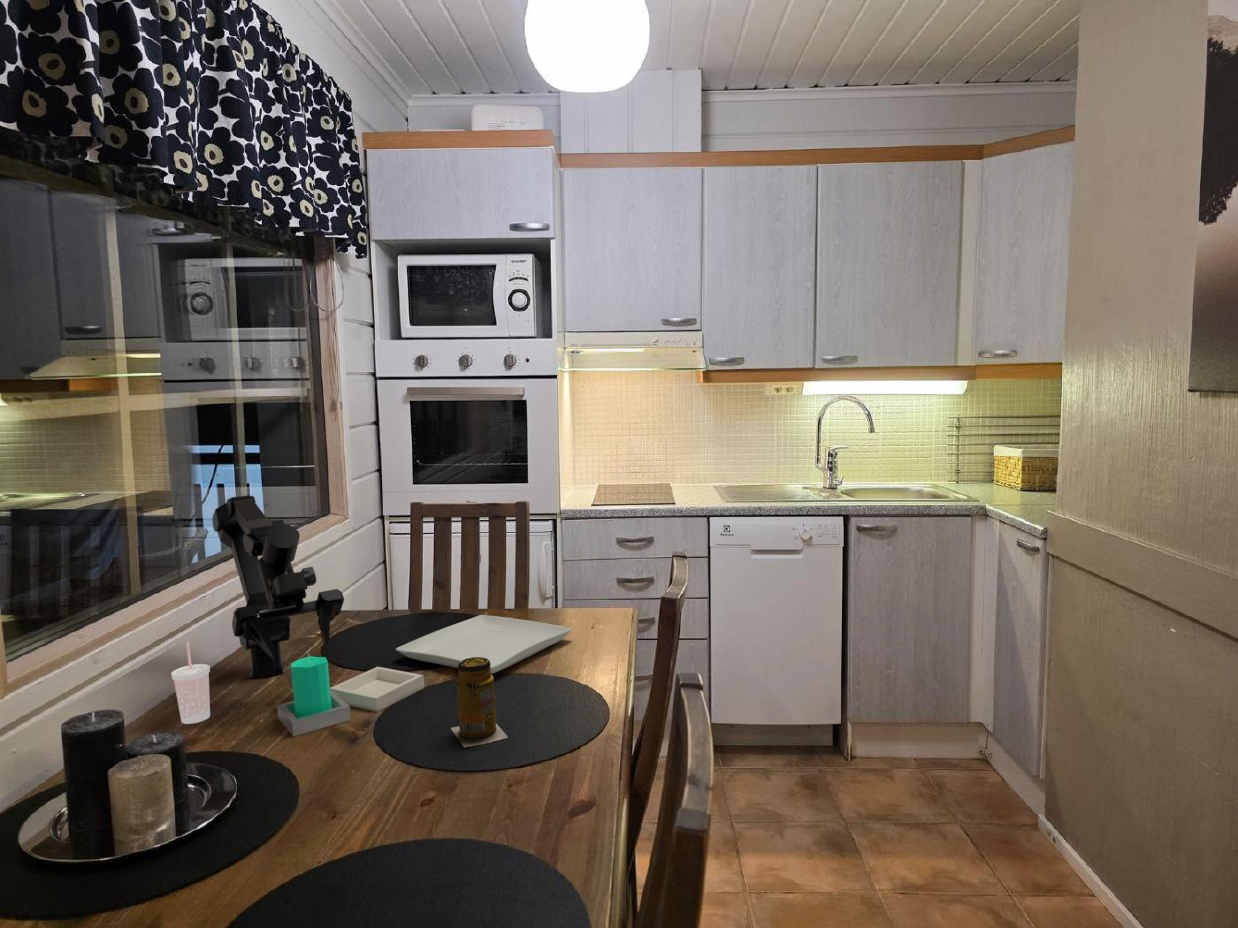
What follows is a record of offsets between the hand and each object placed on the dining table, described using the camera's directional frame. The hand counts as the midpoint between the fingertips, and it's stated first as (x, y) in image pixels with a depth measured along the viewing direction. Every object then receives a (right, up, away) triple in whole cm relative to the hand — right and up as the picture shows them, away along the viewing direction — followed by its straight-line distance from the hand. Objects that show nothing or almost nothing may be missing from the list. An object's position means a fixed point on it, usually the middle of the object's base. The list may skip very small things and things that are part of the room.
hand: (301, 651), depth 144 cm
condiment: (+34, -11, -11) cm, 37 cm away
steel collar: (+3, -11, -2) cm, 12 cm away
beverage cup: (-19, -12, 0) cm, 23 cm away
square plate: (+28, -7, +29) cm, 41 cm away
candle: (+3, -12, -2) cm, 12 cm away
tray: (+11, -10, +8) cm, 17 cm away
